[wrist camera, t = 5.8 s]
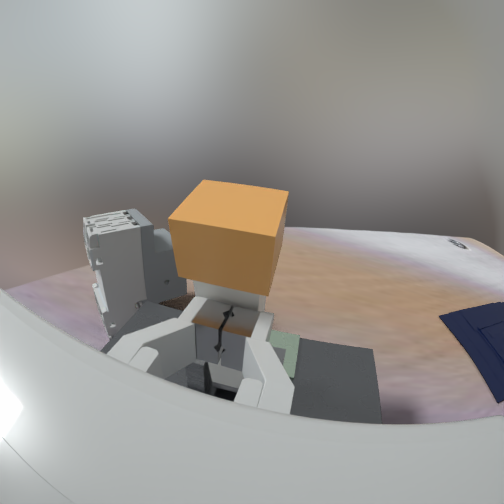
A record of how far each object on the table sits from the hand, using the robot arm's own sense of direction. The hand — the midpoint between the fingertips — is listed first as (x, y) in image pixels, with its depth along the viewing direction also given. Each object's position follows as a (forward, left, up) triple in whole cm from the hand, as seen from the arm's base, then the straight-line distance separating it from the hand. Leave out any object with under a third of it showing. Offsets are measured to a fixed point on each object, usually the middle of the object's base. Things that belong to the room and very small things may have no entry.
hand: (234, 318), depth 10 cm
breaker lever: (0, +4, -9) cm, 10 cm away
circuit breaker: (-18, +19, -20) cm, 33 cm away
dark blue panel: (+50, +25, -20) cm, 60 cm away
